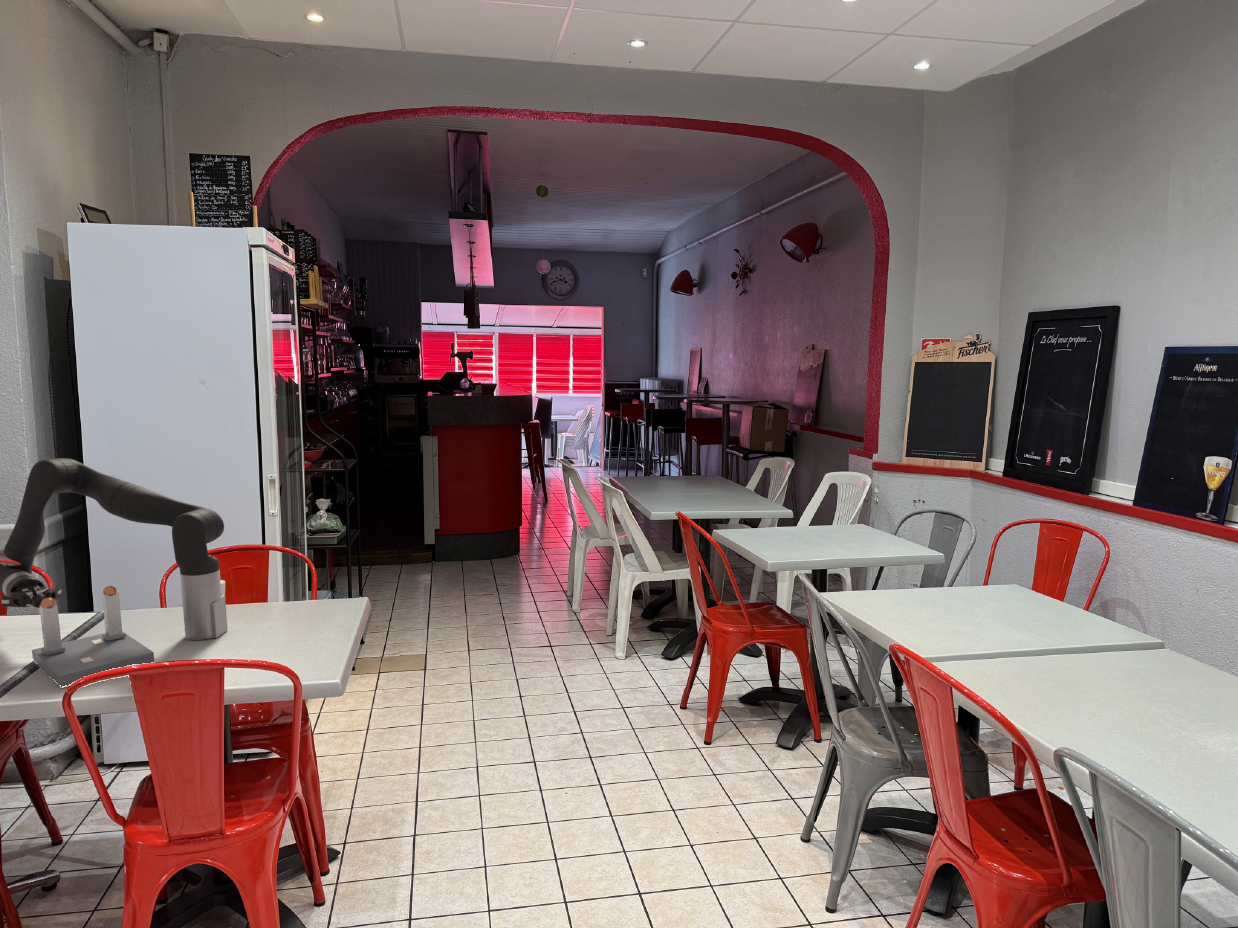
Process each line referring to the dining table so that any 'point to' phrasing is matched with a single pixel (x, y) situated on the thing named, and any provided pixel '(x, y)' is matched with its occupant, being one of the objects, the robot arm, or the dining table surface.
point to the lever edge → (50, 627)
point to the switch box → (91, 657)
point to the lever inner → (112, 614)
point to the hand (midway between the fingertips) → (41, 603)
